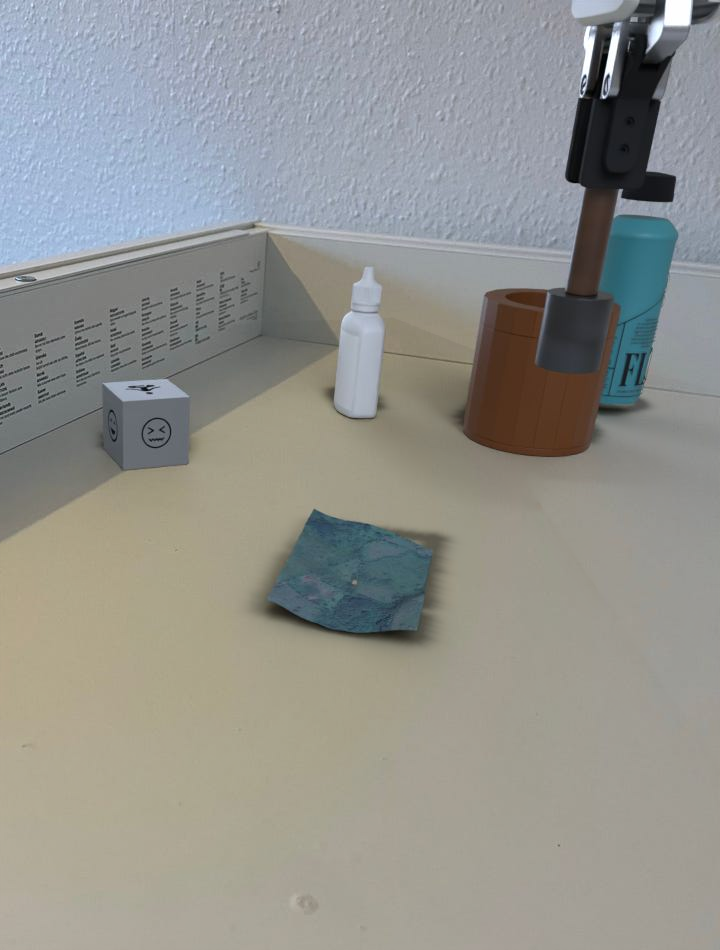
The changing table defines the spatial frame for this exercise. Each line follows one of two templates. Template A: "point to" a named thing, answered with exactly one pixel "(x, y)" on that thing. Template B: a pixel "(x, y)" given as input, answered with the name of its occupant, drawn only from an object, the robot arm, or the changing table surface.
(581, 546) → the changing table surface
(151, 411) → the dice cube
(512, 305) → the brown wooden cup
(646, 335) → the beverage bottle
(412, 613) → the terrain model
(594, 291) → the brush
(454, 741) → the changing table surface
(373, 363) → the eye dropper bottle
